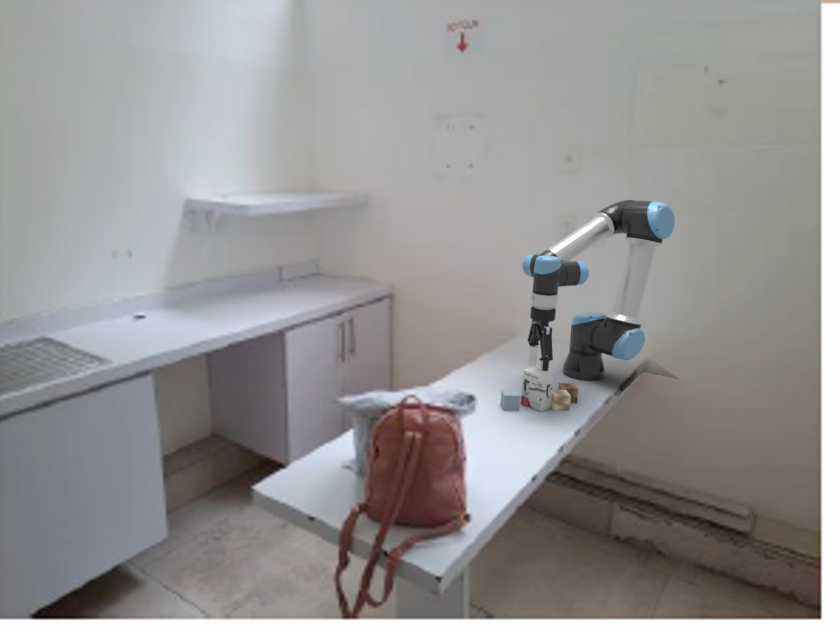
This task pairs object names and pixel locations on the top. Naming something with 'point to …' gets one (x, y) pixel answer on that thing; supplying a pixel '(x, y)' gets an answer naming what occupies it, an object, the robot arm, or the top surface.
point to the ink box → (536, 389)
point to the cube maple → (560, 400)
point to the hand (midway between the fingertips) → (537, 372)
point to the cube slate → (510, 400)
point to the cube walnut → (570, 390)
